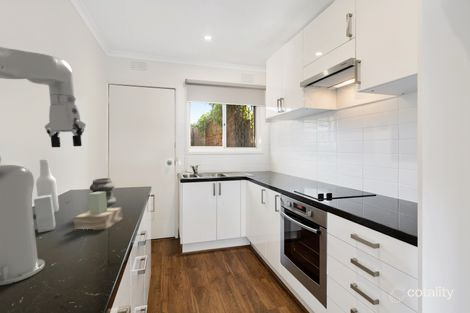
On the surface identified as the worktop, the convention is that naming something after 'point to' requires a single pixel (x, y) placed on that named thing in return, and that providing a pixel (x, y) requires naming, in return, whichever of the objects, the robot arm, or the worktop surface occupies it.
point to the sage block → (97, 202)
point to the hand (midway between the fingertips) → (66, 146)
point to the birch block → (98, 219)
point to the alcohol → (47, 184)
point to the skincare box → (44, 213)
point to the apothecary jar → (104, 189)
